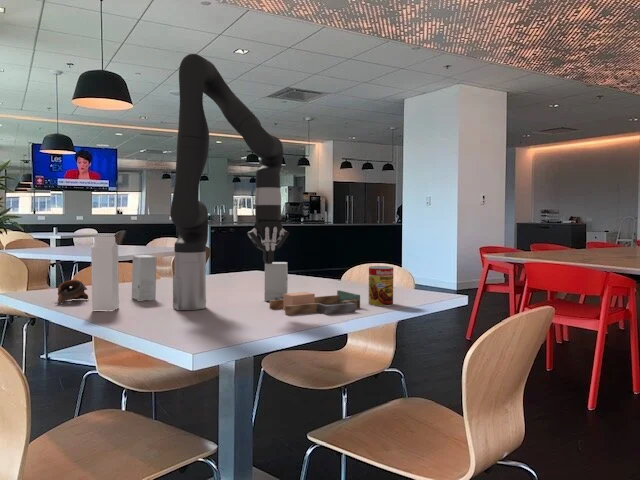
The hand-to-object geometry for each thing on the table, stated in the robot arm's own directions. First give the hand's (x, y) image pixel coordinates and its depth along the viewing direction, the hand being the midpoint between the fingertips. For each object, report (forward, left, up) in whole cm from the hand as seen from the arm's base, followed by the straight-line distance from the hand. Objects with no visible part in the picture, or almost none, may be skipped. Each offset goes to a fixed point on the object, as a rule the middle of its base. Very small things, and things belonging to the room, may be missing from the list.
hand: (268, 263), depth 150 cm
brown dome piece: (-49, +48, -15) cm, 70 cm away
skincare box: (-27, +43, -15) cm, 53 cm away
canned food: (+38, -3, -15) cm, 41 cm away
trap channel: (+15, 0, -14) cm, 21 cm away
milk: (-41, +27, -15) cm, 51 cm away
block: (+10, 0, -15) cm, 18 cm away
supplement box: (+12, +21, -15) cm, 28 cm away
